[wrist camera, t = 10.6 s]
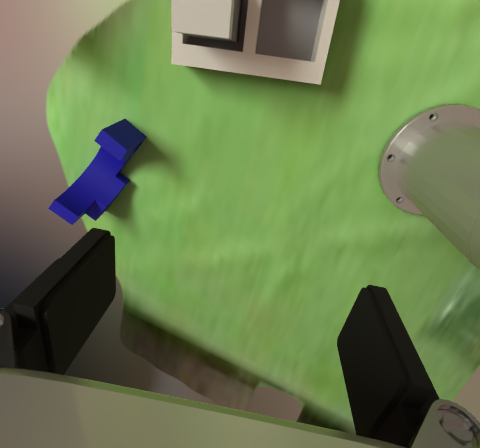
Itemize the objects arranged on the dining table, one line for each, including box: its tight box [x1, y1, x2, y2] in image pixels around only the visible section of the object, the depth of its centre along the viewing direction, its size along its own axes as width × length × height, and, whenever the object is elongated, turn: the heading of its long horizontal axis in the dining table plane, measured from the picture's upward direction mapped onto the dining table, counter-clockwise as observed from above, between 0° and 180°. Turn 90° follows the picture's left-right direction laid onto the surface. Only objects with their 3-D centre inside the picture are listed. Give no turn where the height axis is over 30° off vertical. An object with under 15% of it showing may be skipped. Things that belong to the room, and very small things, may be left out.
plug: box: [172, 0, 242, 43], centre depth 25 cm, size 4×4×10 cm
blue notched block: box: [49, 119, 146, 225], centre depth 36 cm, size 12×4×6 cm, turn 138°
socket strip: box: [172, 0, 340, 85], centre depth 28 cm, size 14×9×4 cm, turn 83°
